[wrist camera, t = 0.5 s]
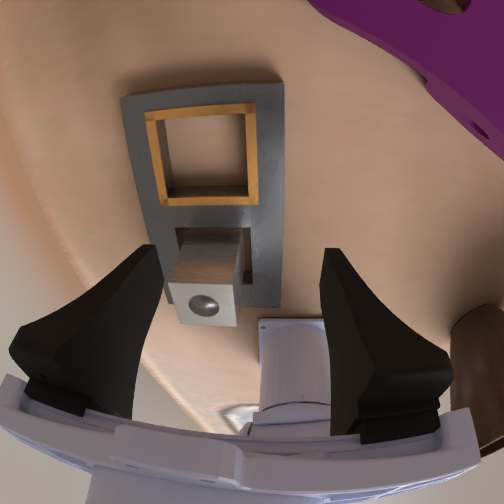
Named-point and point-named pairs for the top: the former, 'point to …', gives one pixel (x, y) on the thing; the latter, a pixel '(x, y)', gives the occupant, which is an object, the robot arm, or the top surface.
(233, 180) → the top surface
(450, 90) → the mounting bracket
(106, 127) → the top surface
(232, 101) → the grey holder tray
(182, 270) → the metal block with hole
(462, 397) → the plant pot
